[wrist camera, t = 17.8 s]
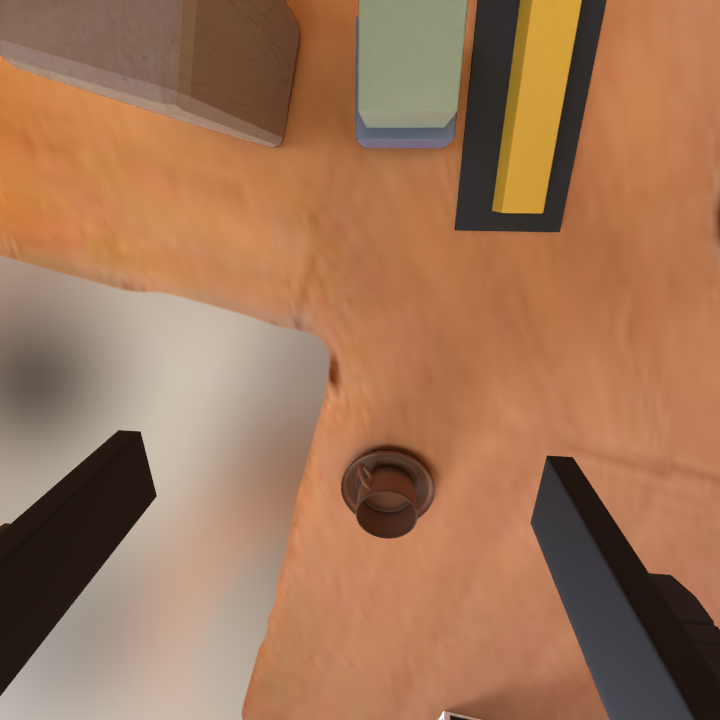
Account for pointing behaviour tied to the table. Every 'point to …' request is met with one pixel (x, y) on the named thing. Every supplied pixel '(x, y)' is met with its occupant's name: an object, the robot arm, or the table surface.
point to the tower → (408, 72)
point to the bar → (534, 103)
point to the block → (166, 56)
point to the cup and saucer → (387, 492)
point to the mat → (489, 113)
